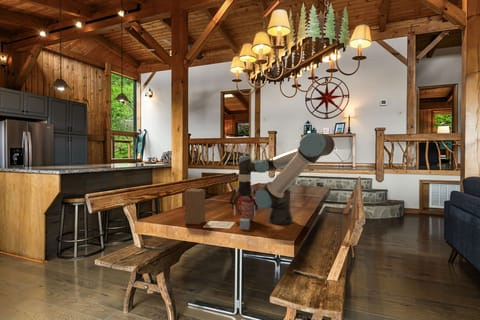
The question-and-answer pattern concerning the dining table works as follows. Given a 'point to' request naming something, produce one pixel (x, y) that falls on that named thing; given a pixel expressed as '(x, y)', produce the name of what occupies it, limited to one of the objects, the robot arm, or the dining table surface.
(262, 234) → the dining table surface
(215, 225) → the letter
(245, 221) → the cube
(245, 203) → the mug
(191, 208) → the wooden block
